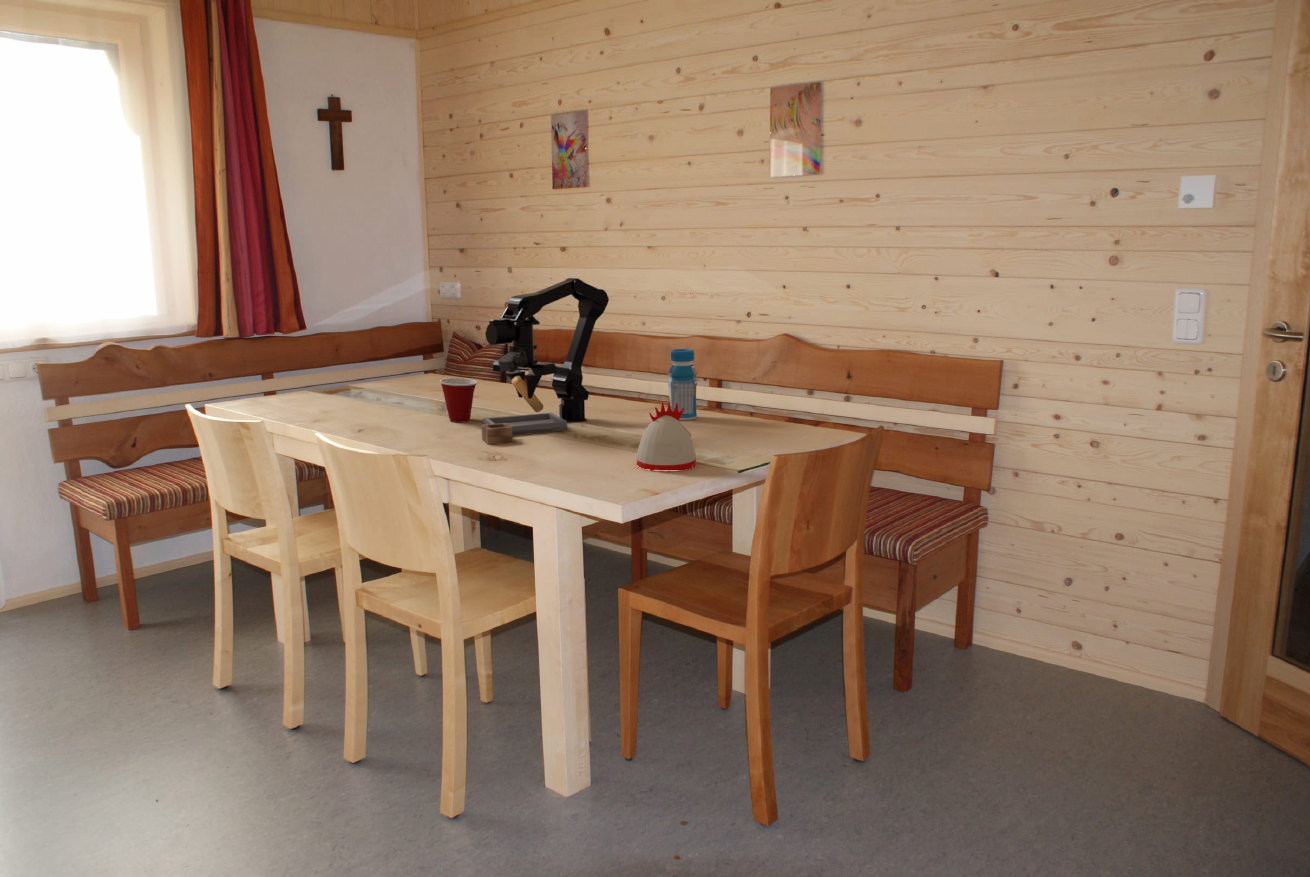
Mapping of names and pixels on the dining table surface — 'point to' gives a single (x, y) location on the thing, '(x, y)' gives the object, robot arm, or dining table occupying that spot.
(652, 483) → the dining table surface
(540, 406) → the tan dowel pin
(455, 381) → the plastic cup
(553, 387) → the robot arm
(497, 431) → the walnut socket block
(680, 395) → the beverage bottle
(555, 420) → the charcoal tray
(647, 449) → the chicken hat
